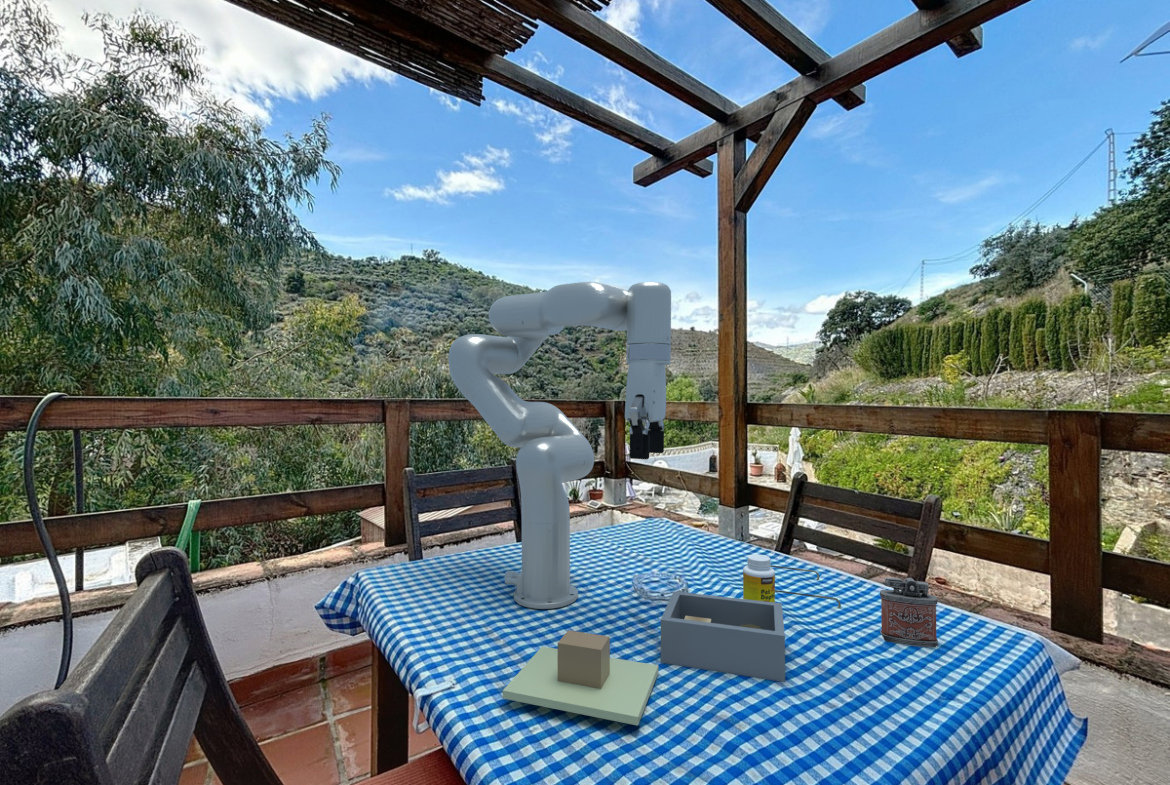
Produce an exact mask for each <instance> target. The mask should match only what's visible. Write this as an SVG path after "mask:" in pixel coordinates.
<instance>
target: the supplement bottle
mask: <svg viewBox="0 0 1170 785" xmlns="http://www.w3.org/2000/svg"><path fill="white" fill-rule="evenodd" d="M770 565H772V564H771V558H770V557H769V556H768V555H763V554H749V555H748V556H747V565H745V566H744V567H743V569H742V591H743V592H742V599H747V600H756V601H764V602H773V603H776V592H775V590H776V573H775V569H774V568H773V567H770Z"/></svg>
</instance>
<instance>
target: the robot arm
mask: <svg viewBox="0 0 1170 785" xmlns="http://www.w3.org/2000/svg"><path fill="white" fill-rule="evenodd" d="M488 320H489V323H490V326H491V327H492V328H493V330H494V331H496V332H497V333H498V334H501V335H503V336H498V335H497V336H496V335H491V334H490V335H489V334H482V333H481V334H480V333H470V334H465V335H461V336H460V337H458V338H456V339H455V340H454V341H453V342H452V344H451V346H450V348H449V349H448V350H449V351H448V368H449V373H450V375H451V376H450V377H451V379H452V382H453V383H454V385H455V386H456V388H457V389H458V391H459V392H460V393H461V394H462V395H463V397H465V399H466V400H468V402H470V404H471V405H472V406H473V407H474V408H475V410H476V411H477V412H478V413H479V414H480V416H481V417H482V418H483V420H484V421H485V422H486V423H487V425H488V426H489V427H490V428H491V429H492V431H493V432H494V433H495V435H496V436H497V437H498V438H499V440H500V441H501V442H502V443H503V444H504V445H506V446H507V447H510V448H520V449H519V450H518V452H517V455H516V460H515V465H516V472H517V479H518V482H519V489H520V500H521V501H520V502H521V571H520V572H516V571H512V570H511V571H510V570H507V571H505V574H504V584H505V585H509V586H510V585H513V586H515V587H516V589H515V590H514V592H513V600H514V601H515V602H516V603H517V604H518V605H520V606H522V607H525V608H529V609H536V610H551V609H558V608H562V607H566V606H568V605H569V606H570V605H571V604H572V603H574V602H575V601H576V600H577V599H578V597H579V591H578V589H577V587H576V586H574V585H573V584H571V547H570V546H571V543H570V542H571V530H570V528H571V527H570V526H571V523H570V522H571V514H570V510H571V509H570V502H569V498H568V495H567V493H566V491H565V488H564V486H563V483H568V482H573V481H577V480H579V479H580V480H581V479H582V478H584V477H587V475H590V472H592V470H593V467H594V464H595V454H594V450H593V448H592V445H591V444H590V442H589V440H588V439H587V438H586V437H585V436H584V435H583V433H581V431H580V430H579V429H578V428H577V426H576V425H574V423H573V422H572V421H571V420H570V419H569V418H568V417H567V415H565V414H564V412H563V411H562V410H560V409H559V408H558V407H557V406H555V405H553V404H551V403H549V402H545V401H526V400H523V399H522V398H521V397H519V395H517V394H516V393H515V391H513V389H512V388H511V387H510V386H509V385H508V383H506V382H505V381H504V380H503V379H501V378H499V377H498V376H496V374H497V375H510V374H511V375H512V374H514V373H516V372H518V371H519V370H521V369H522V368H523V367H524V366H525V364H526V363H527V362H528V360H530V358H531V357H532V356H533V355H534V354H535V352H536V351H537V350H538V348H539V347H540V346H541V345H542V344H543V342H544V341H545V340H547V339H546V338H547V337H548V336H553V335H557V334H559V333H561V331H563V329H564V328H565V327H574V326H578V327H579V326H583V327H584V326H585V327H586V326H587V327H594V328H600V329H606V330H611V331H618V332H622V331H626V365H628V368H627V377H626V388H625V401H624V402H625V404H624V405H625V406H624V419H625V420H626V422H629V423H628V424H630V426H629V429H628V430H629V458H630V459H632V460H648V459H649V458H650V453H651V454H652V453H653V454H663V453H664V451H665V424H664V420H665V418H666V413H667V375H666V366H669V365H671V363H672V362H671V353H672V352H671V351H672V349H671V348H672V346H671V345H672V344H671V343H672V341H671V340H672V338H671V337H672V291H671V288H670V286H668V285H667V284H665V283H664V282H663V283H662V282H659V281H658V282H657V281H643V282H641V281H640V282H637V283H634V284H632V285H630V287H629V288H628V289H627V290H626V289H624V288H619V287H616V286H611V285H608V284H604V283H601V282H597V281H581V282H579V281H578V282H572V283H571V282H570V283H564V284H559V285H555V286H552V288H550V289H548V290H547V291H542V292H541V291H540V292H532V293H523V294H515V295H506V296H503V297H500V298H498V299H496V301H494V302H493V303H492V305H491V306H490V308H489V311H488Z"/></svg>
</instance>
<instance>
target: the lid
mask: <svg viewBox="0 0 1170 785" xmlns="http://www.w3.org/2000/svg"><path fill="white" fill-rule="evenodd" d="M610 639H611V638H610V636H609V635H602V634H594V633H588V632H583V631H582V632H581V631H574V630H567V631H566V632H565V633H564V634H563V636H562V637H561V638H560V640H559V641H558V642H557V648H554V647H547V646H541V647H540V648H539V649H537V650H538V651H537V652H536V653H535V654H534V655H533V656H532V657H531V658H530V659H529V660H528V662H527V663H526V664H525V665H524V666H523V667H522V668H521V670H519V672H518V673H517V674H516V675H515V676H514V677H513V678H512V680H511V681H510V682H509V683H508V684H507V685H506V686H505V687H504V689H502V699H504V700H509V701H513V702H514V701H515V702H519V703H522V704H523V703H524V704H528V705H534V706H539V707H543V708H549V709H555V710H559V711H564V712H569V713H573V714H579V715H584V716H588V717H594V718H597V719H603V720H608V721H613V722H619V723H624V724H627V725H633V726H639V725H640V722H641V719H642V716H643V714H644V712H645V709H646V706H647V703H648V700H649V698H650V695H651V693H652V690H653V687H654V685H655V683H656V681H657V677H658V675H659V664H652V663H648V662H647V663H646V662H639V661H633V660H627V659H621V658H615V657H611V654H610V653H611V652H610V651H611V650H610V649H611V648H610V647H611V644H610V643H611V642H610V641H611V640H610Z"/></svg>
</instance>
